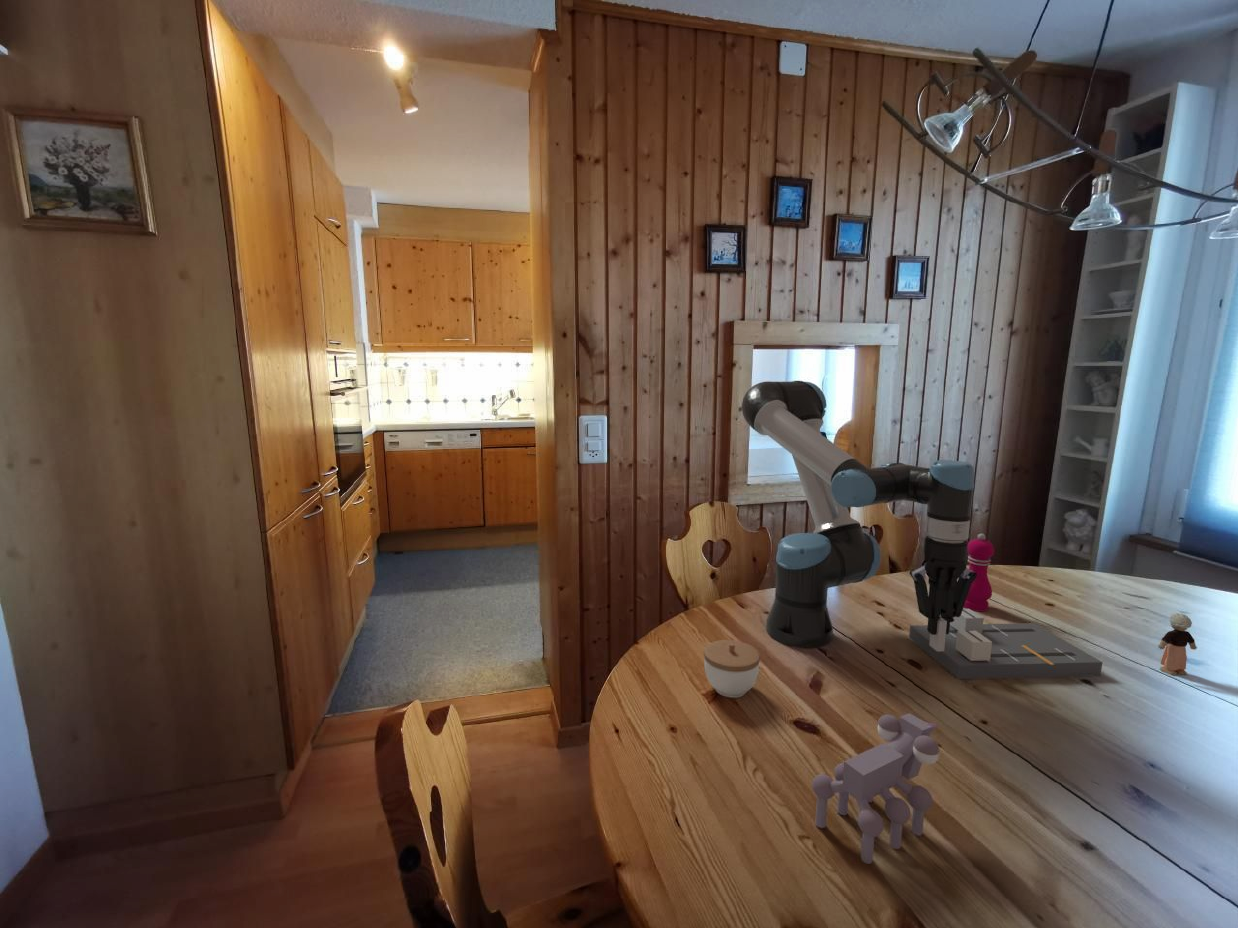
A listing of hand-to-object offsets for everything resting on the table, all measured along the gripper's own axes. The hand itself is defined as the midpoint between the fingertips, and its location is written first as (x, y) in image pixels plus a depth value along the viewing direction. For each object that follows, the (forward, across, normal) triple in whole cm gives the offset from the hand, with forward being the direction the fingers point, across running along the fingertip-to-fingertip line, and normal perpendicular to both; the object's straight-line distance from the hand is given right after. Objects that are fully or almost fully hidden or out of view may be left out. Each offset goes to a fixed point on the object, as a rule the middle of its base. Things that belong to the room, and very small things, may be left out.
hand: (936, 648), depth 116 cm
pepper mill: (+5, +30, +31) cm, 44 cm away
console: (+5, +18, +6) cm, 19 cm away
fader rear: (+2, +14, +11) cm, 18 cm away
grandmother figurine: (+6, +49, -2) cm, 49 cm away
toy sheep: (+6, -30, -38) cm, 49 cm away
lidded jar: (+5, -44, -5) cm, 45 cm away
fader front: (+2, +8, 0) cm, 8 cm away
